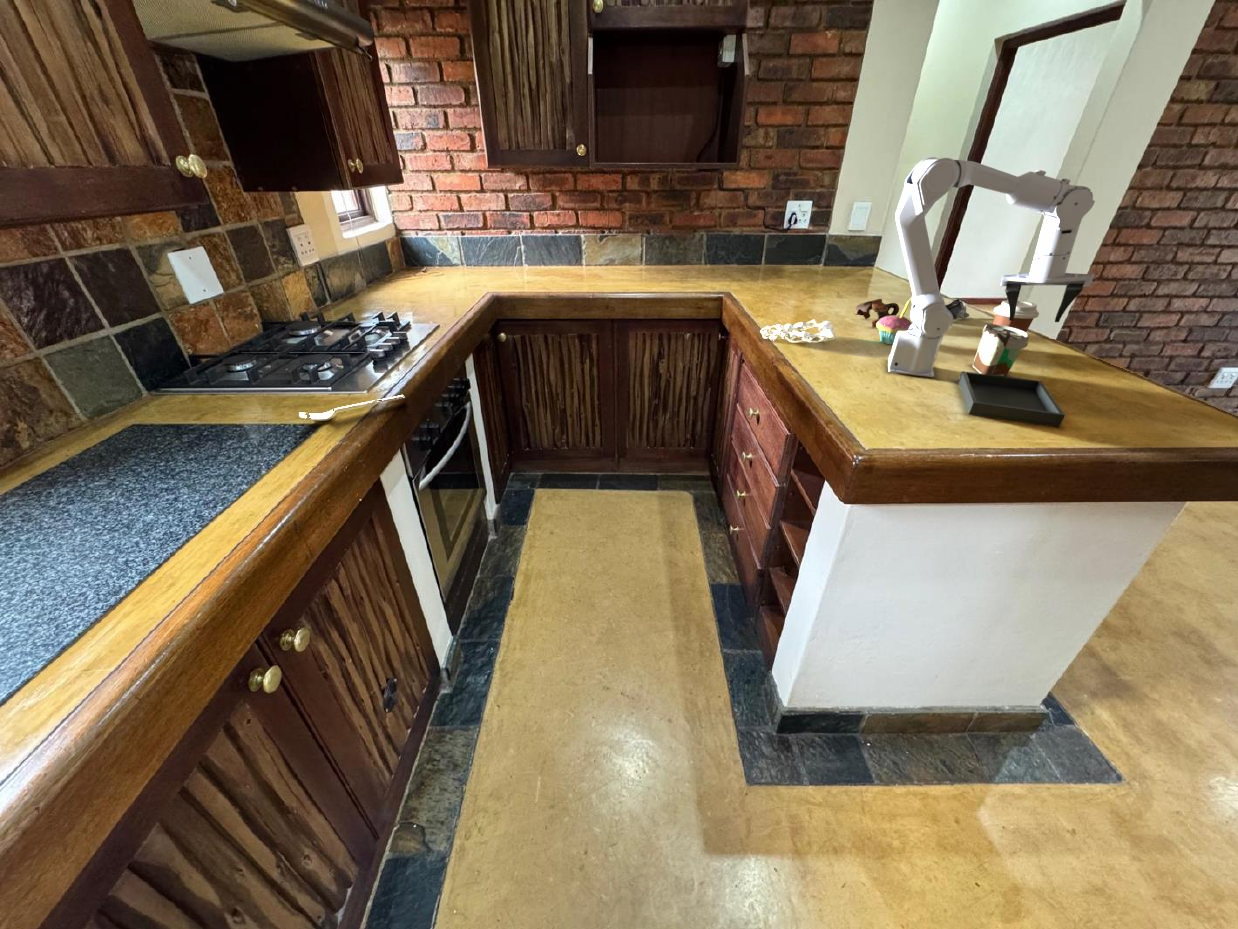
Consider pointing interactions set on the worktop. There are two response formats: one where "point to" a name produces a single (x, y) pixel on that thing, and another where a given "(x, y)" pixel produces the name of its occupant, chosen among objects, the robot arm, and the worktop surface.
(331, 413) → the fork
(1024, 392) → the tray
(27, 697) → the worktop surface
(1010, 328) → the food container
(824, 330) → the tangled rod sculpture
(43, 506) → the worktop surface
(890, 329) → the cupcake
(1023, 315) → the coffee cup
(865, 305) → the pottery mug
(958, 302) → the snack package
